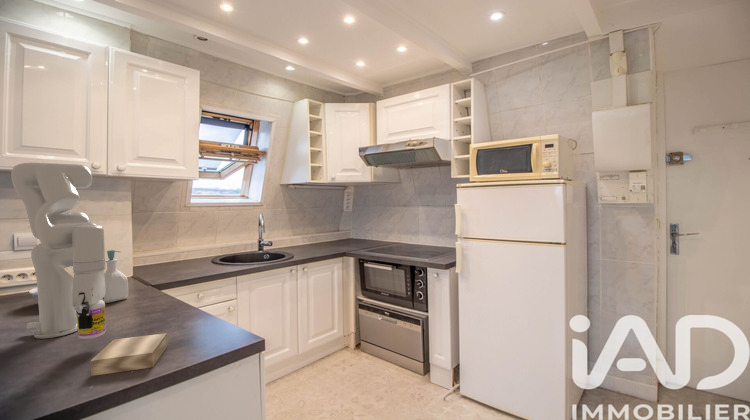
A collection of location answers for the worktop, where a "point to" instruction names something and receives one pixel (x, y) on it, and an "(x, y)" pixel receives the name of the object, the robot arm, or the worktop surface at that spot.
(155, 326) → the worktop surface
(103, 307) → the supplement bottle
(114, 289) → the soap bottle
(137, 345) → the block
